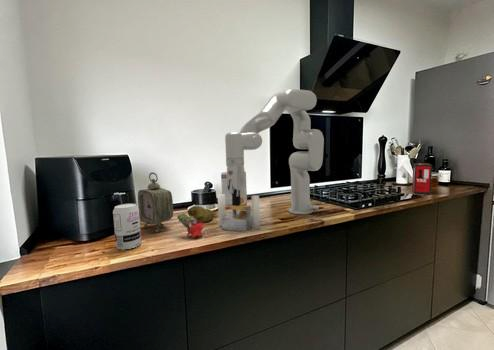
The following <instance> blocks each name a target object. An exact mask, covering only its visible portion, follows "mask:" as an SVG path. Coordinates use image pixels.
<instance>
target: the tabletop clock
mask: <svg viewBox="0 0 494 350" xmlns="http://www.w3.org/2000/svg"><path fill="white" fill-rule="evenodd" d="M152 175H154V176H155V177H156V179H155V178H152V179H151V176H152ZM148 179H149V181H150V182H151V183H149V184H148V185H147V189H140V190H138V192H137V193H138V194H137V203H138V204H137V207H138V208H139V217H140V221H142V222H143V223H145V224H144V225H143V227H144V229H146V228H148V227H149V225H150V226H151V225H152V226H153V225H157V226H156V229H155V232H156V234H157V233H160V231H161V230H160V228H163V227H164V224H163V222H167V221H170V220H171V219H172V218H173V217H174V201H173V195H172V191H170V190H168V189H166V188H163V187H161V186H160V184H159V183H158V180H159V178H158V175H157V173H156V172H150V173H149V174H148Z"/></svg>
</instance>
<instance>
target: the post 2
mask: <svg viewBox="0 0 494 350" xmlns="http://www.w3.org/2000/svg"><path fill="white" fill-rule="evenodd" d="M251 209H252V227H251V228H252V230H254V231H255V230H260V229H261V226H260V225H261V224H260V222H261V220H260V195H251Z"/></svg>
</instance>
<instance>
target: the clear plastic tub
mask: <svg viewBox="0 0 494 350" xmlns="http://www.w3.org/2000/svg"><path fill="white" fill-rule="evenodd" d="M250 207H251V206H250V205H247V210H234V209H232V211H231V212H229V213H227V214H226V216H224V217H223V218H222V226H221V228H222V230H226V231H235V232H245V233H246V232H248V231H249V230H250V229H251V228H252V208H251V210H250Z"/></svg>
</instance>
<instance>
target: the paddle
mask: <svg viewBox="0 0 494 350" xmlns="http://www.w3.org/2000/svg"><path fill="white" fill-rule="evenodd" d="M247 206H248V205H247ZM247 206H231V208H230V210H233V209H234V210H247ZM251 209H252V206H250V210H251Z"/></svg>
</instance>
